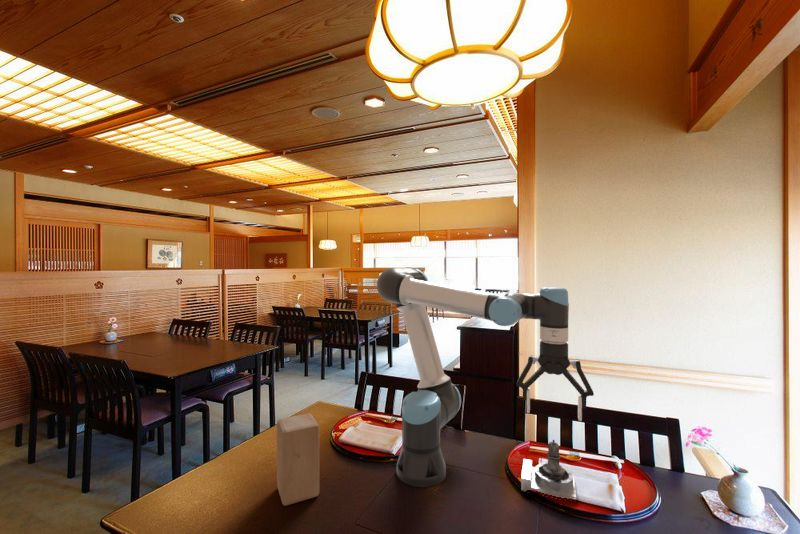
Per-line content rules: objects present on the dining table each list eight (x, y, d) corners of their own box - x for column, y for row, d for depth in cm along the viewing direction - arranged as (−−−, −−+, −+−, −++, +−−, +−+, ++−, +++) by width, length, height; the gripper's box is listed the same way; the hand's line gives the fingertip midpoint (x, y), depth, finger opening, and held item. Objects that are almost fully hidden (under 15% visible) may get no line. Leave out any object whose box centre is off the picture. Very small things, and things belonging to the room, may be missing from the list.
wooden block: (282, 508, 94) (282, 432, 94) (276, 487, 103) (276, 418, 103) (320, 497, 99) (320, 424, 99) (311, 477, 108) (311, 411, 107)
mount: (521, 490, 101) (521, 476, 101) (523, 469, 112) (523, 456, 112) (576, 502, 96) (576, 487, 96) (573, 480, 106) (573, 466, 106)
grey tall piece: (567, 488, 100) (567, 445, 100) (544, 486, 101) (544, 443, 101) (562, 476, 106) (562, 435, 105) (540, 474, 107) (540, 433, 107)
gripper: (507, 340, 104) (507, 412, 104) (605, 348, 95) (604, 428, 95) (509, 335, 111) (509, 403, 111) (601, 342, 102) (600, 416, 102)
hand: (553, 415), depth 103 cm, fingers open, 13 cm apart
